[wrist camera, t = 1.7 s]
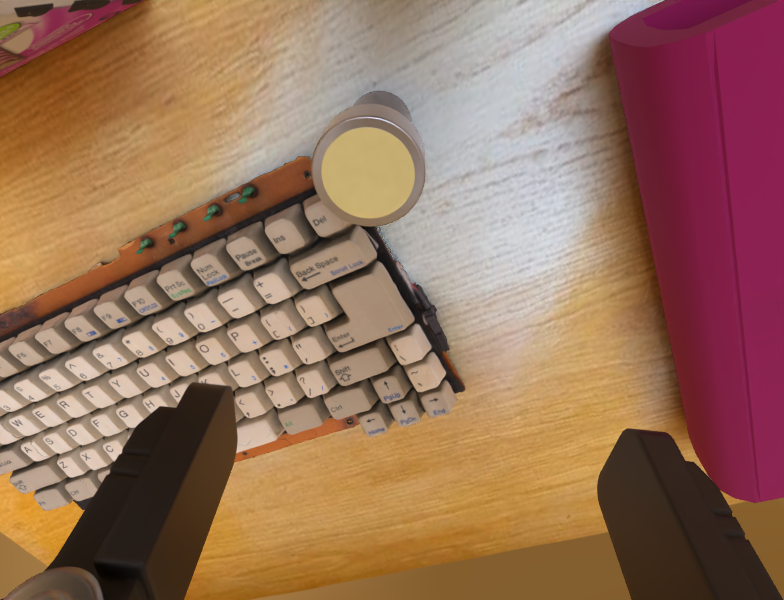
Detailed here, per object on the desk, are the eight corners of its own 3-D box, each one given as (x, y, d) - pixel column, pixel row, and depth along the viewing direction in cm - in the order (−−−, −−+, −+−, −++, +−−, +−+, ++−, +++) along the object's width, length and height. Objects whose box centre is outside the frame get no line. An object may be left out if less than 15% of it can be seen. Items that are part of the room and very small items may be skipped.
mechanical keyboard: (89, 508, 45) (68, 543, 43) (-103, 363, 36) (-147, 396, 34) (476, 378, 35) (481, 413, 32) (339, 128, 26) (329, 147, 23)
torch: (321, 134, 26) (290, 188, 19) (367, 57, 24) (349, 90, 17) (391, 182, 27) (383, 246, 21) (441, 113, 25) (448, 162, 19)
